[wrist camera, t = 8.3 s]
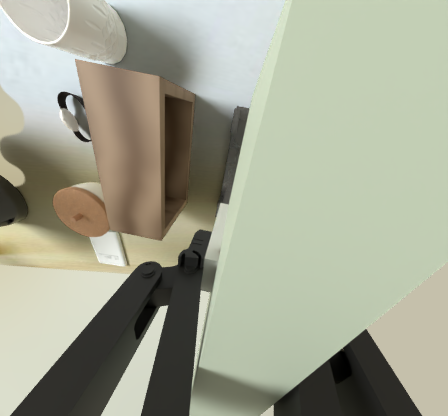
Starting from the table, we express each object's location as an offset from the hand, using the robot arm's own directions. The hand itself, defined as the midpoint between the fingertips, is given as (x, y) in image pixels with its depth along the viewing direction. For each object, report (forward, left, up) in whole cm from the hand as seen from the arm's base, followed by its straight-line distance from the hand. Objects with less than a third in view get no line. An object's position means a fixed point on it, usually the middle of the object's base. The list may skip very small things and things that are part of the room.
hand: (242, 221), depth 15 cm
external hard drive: (-31, -29, -20) cm, 47 cm away
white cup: (-24, +15, -19) cm, 34 cm away
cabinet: (-14, 0, -19) cm, 24 cm away
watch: (-30, +3, -19) cm, 36 cm away
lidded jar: (-28, -13, -19) cm, 36 cm away
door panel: (0, 0, 0) cm, 1 cm away
